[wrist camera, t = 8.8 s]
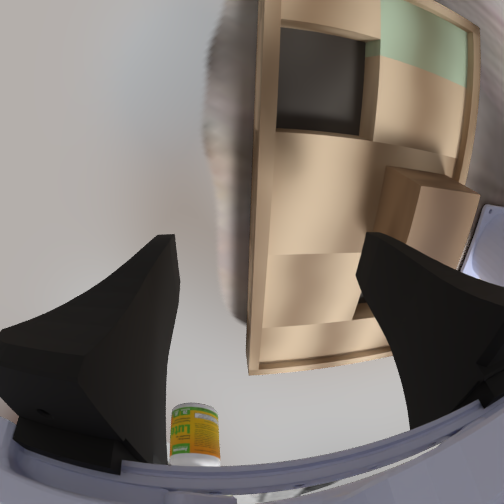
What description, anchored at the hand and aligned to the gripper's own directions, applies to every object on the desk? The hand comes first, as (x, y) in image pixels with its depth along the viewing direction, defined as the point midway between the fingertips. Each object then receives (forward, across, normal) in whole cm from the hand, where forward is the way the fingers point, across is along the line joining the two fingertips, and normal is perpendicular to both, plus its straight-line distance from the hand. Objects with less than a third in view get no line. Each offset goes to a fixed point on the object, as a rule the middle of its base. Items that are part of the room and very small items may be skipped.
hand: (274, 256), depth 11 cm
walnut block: (+5, -10, 0) cm, 11 cm away
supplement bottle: (+8, +6, +26) cm, 27 cm away
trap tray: (+7, -7, 0) cm, 10 cm away
